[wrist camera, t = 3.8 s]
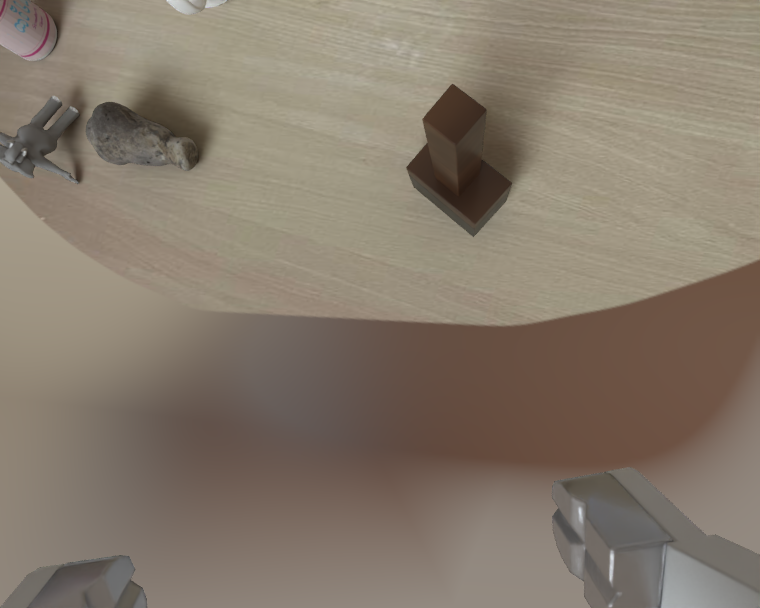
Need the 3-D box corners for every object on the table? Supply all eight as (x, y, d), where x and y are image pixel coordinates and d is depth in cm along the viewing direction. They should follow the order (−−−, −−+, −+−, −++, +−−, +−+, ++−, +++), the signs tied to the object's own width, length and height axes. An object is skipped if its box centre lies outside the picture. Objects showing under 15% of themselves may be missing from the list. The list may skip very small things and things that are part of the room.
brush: (413, 186, 35) (380, 106, 21) (443, 151, 34) (430, 45, 21) (473, 237, 33) (478, 184, 20) (506, 200, 33) (533, 122, 20)
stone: (216, 153, 40) (161, 70, 35) (183, 177, 36) (117, 87, 32) (157, 179, 44) (101, 108, 40) (122, 203, 41) (56, 127, 36)
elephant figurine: (115, 127, 42) (60, 193, 39) (116, 148, 47) (67, 207, 44) (6, 52, 37) (-65, 121, 34) (19, 84, 42) (-42, 146, 39)
